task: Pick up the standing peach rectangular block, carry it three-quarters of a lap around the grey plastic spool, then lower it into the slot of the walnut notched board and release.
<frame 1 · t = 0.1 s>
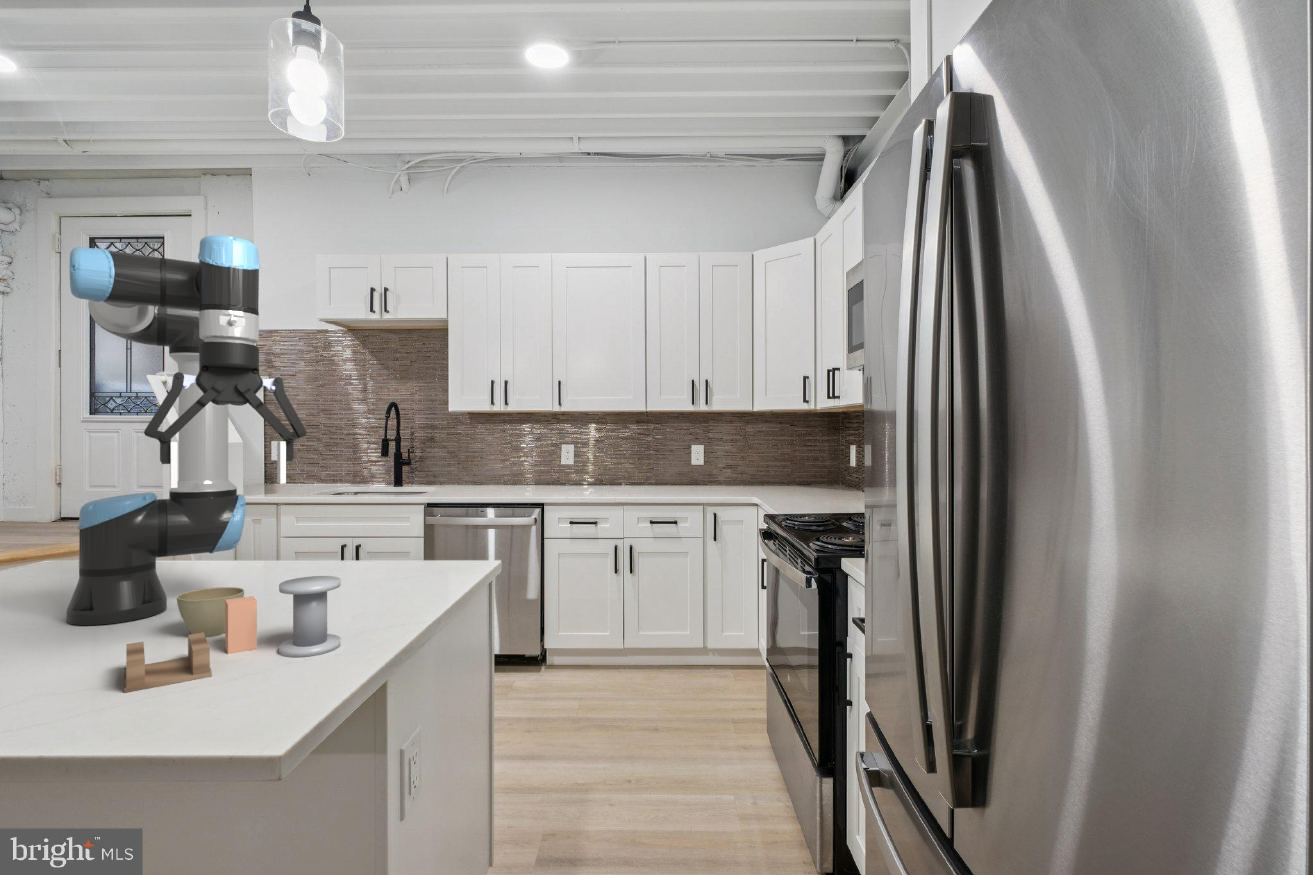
hand: (229, 485, 98), 28 cm above the counter, fingers open, 13 cm apart
bobbin: (310, 647, 109), on the counter
flower pot: (211, 634, 117), on the counter
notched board: (167, 673, 97), on the counter
peach rectangular block: (240, 648, 109), on the counter
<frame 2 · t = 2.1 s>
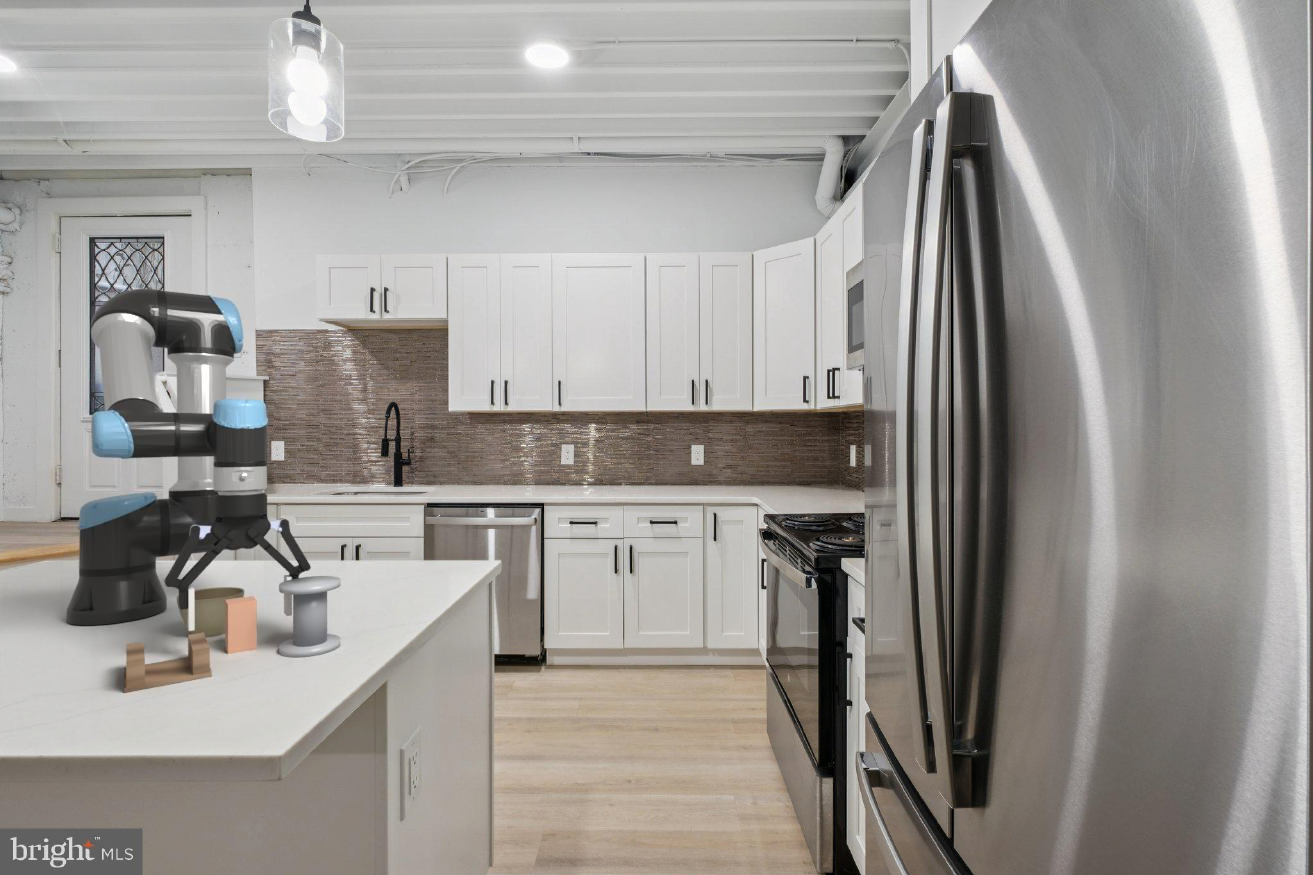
hand: (241, 621, 109), 5 cm above the counter, fingers open, 13 cm apart
nothing on the counter moved.
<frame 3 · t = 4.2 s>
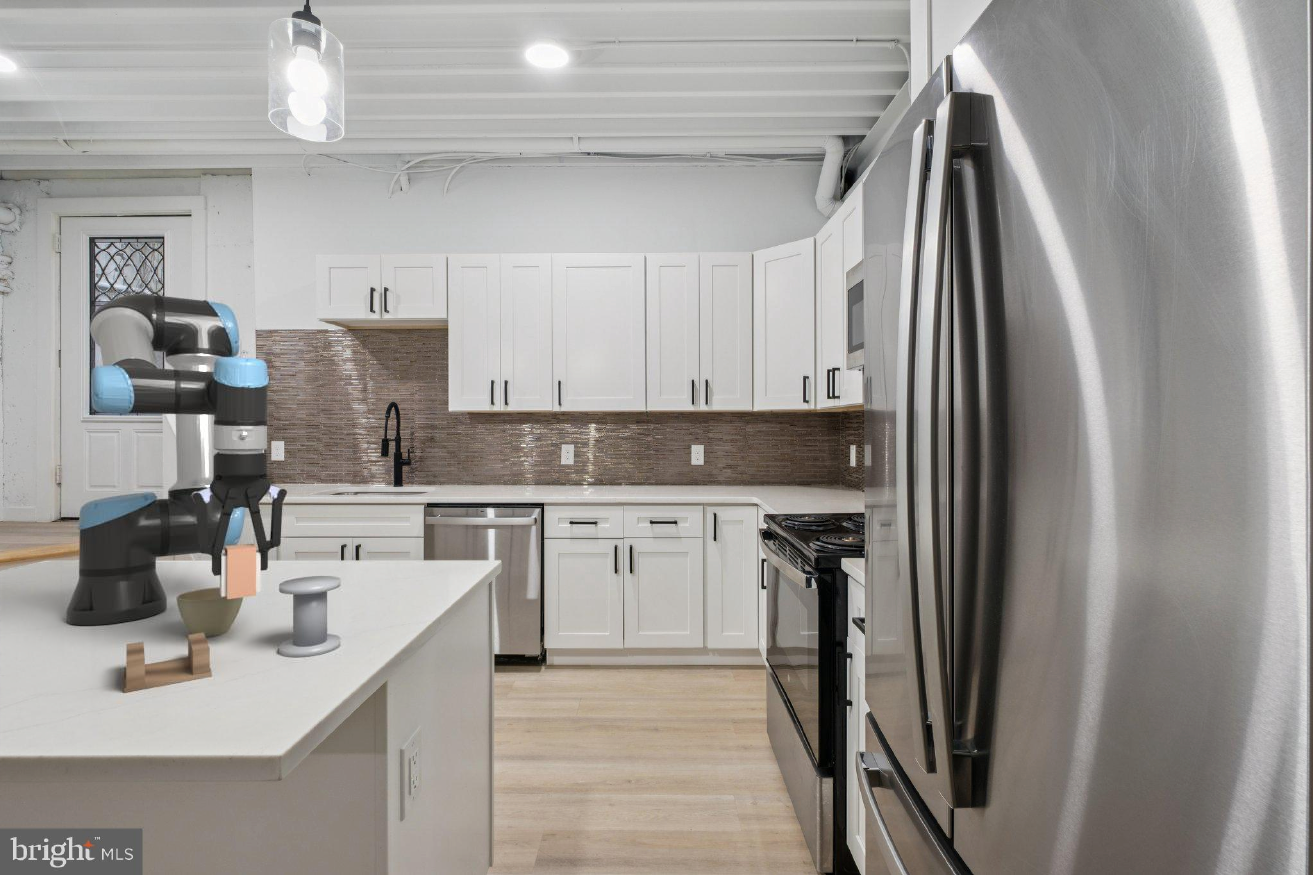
hand: (240, 592, 109), 9 cm above the counter, fingers closed on peach rectangular block, 4 cm apart
peach rectangular block: (240, 594, 109), point 9 cm above the counter, touching gripper
everything else where it was.
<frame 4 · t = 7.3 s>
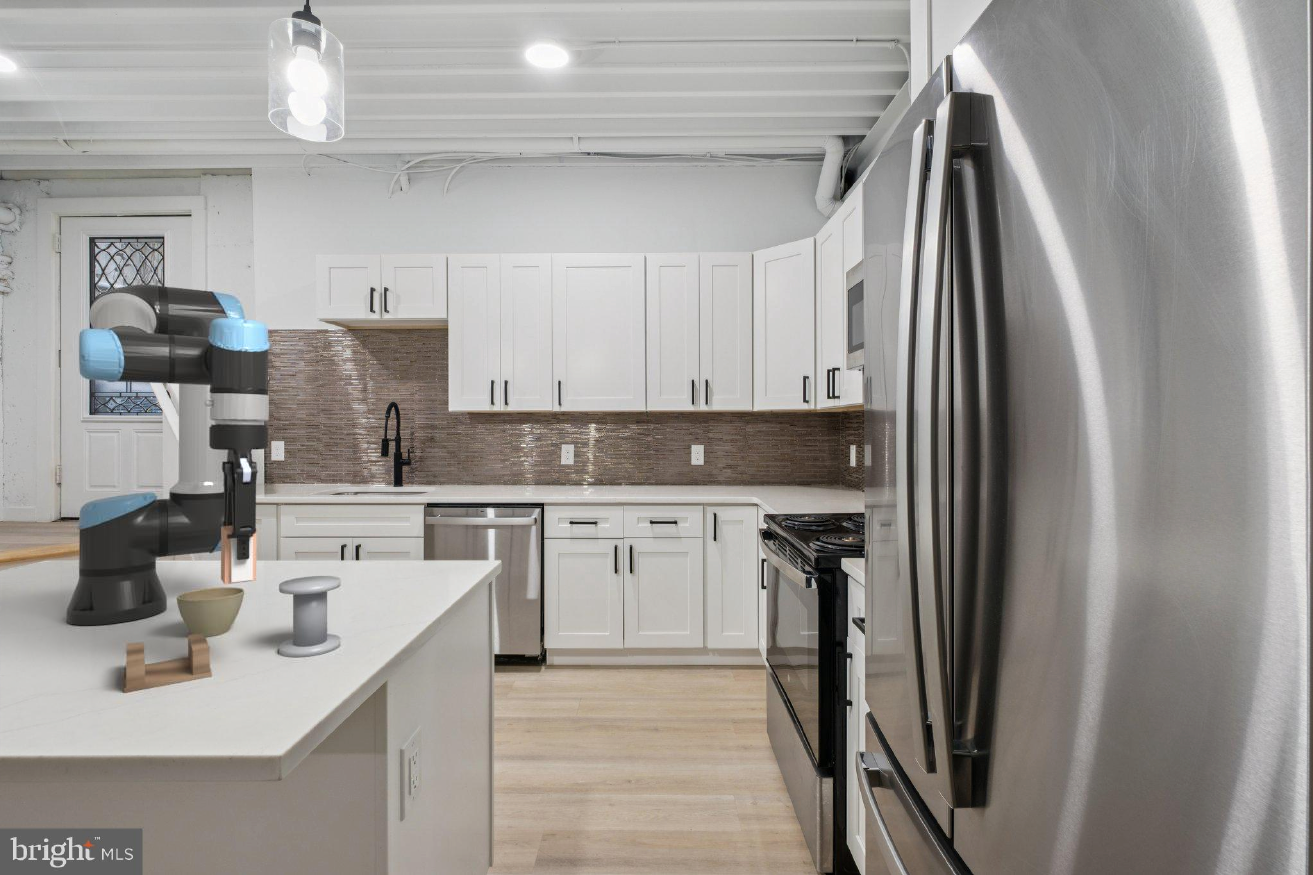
hand: (239, 577, 99), 14 cm above the counter, fingers closed on peach rectangular block, 4 cm apart
peach rectangular block: (238, 579, 99), point 13 cm above the counter, touching gripper
everything else where it was.
when the fingers open (2 cm above the counter, at t = 10.5 s): peach rectangular block stays where it is, resting on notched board.
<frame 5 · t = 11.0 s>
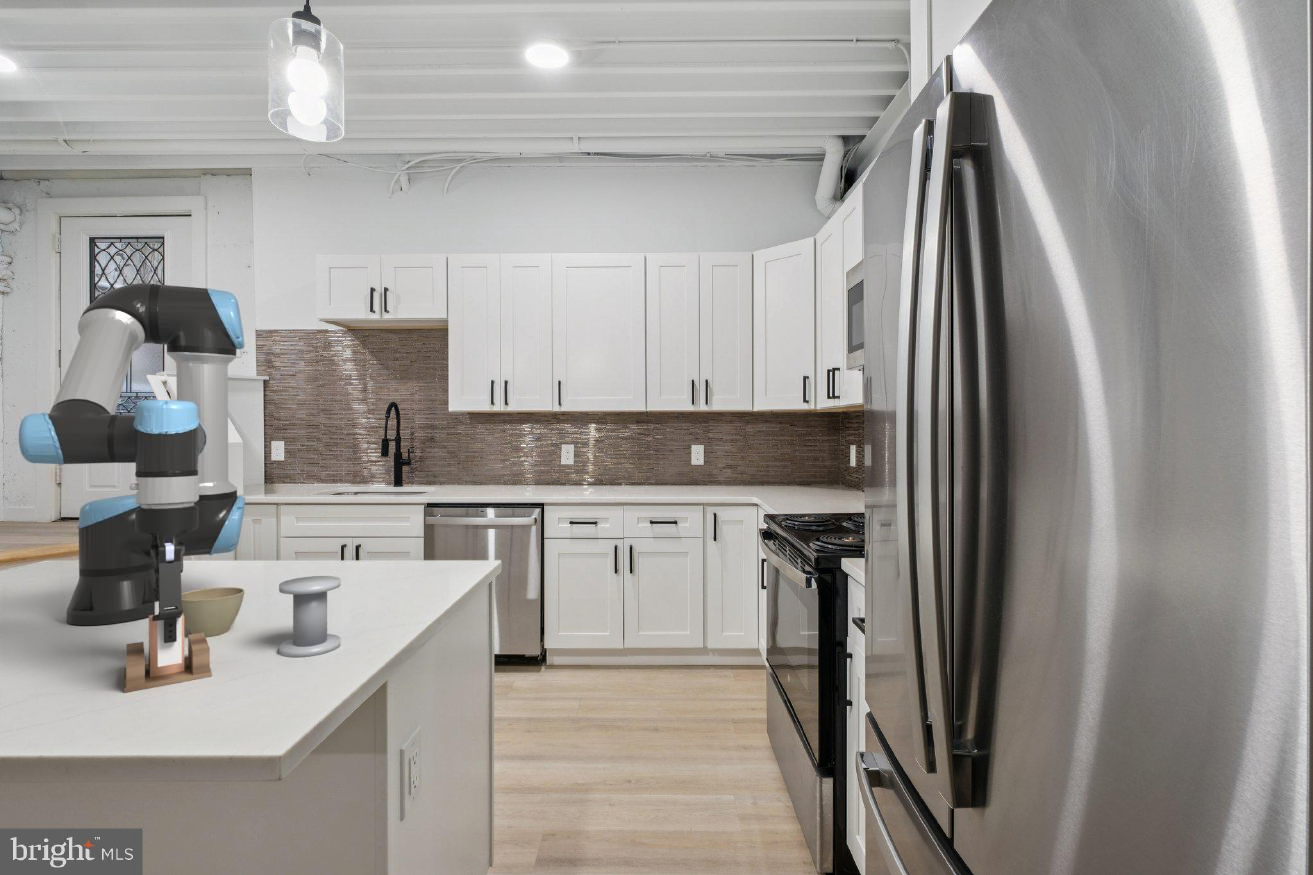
hand: (167, 653, 97), 3 cm above the counter, fingers open, 11 cm apart
peach rectangular block: (166, 670, 97), point 1 cm above the counter, touching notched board
everything else where it was.
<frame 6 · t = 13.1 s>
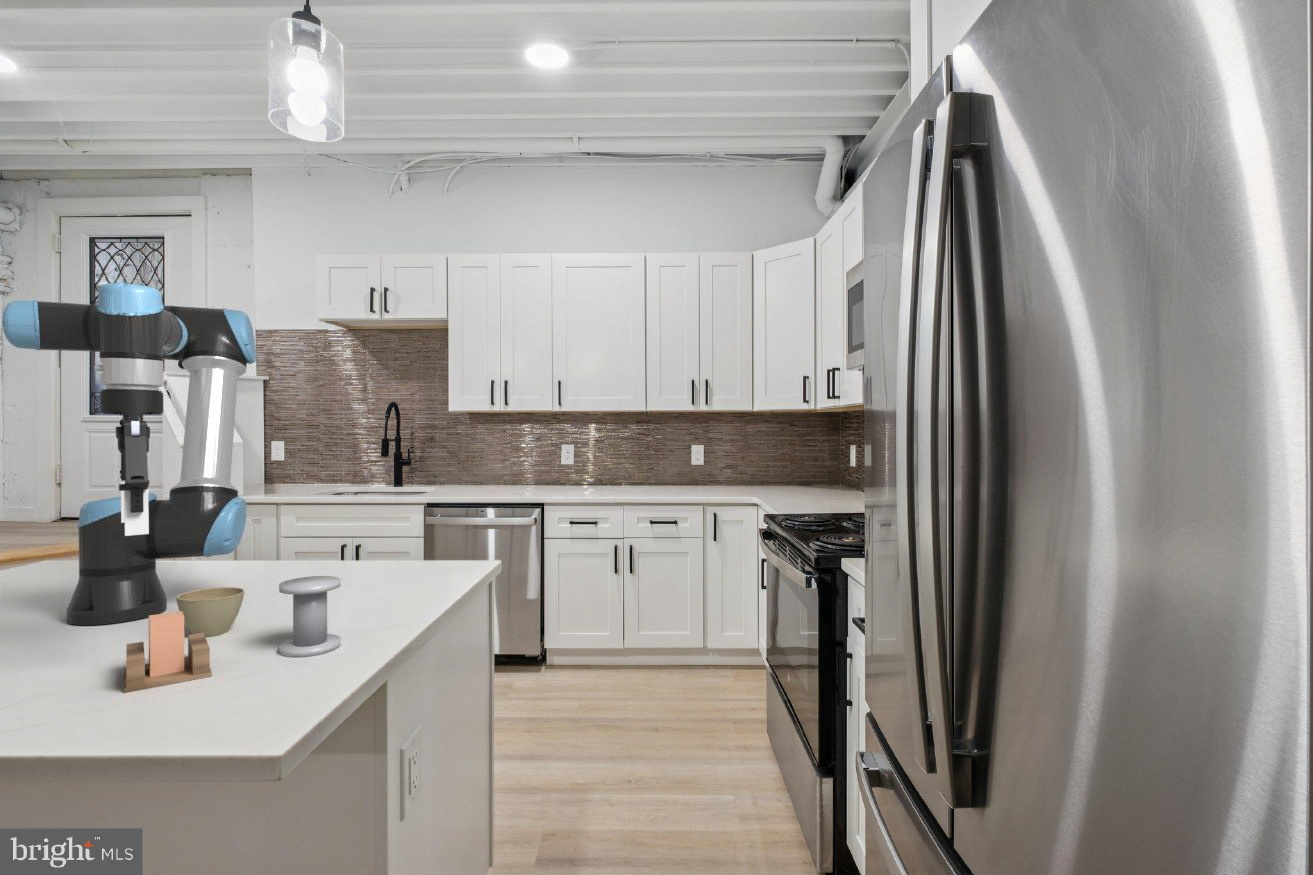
hand: (134, 528, 100), 21 cm above the counter, fingers open, 13 cm apart
nothing on the counter moved.
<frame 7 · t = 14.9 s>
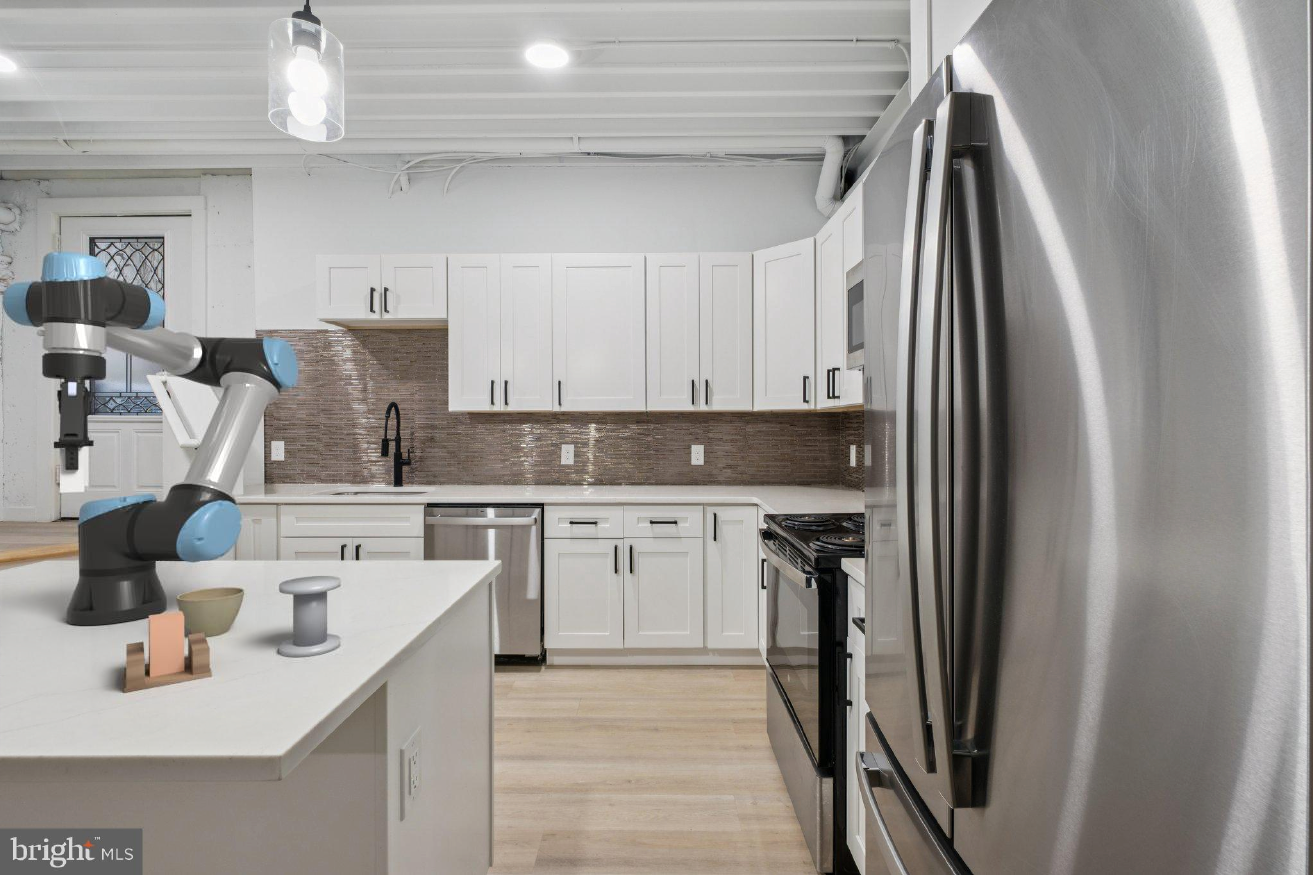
hand: (75, 489, 103), 27 cm above the counter, fingers open, 13 cm apart
nothing on the counter moved.
at the end: peach rectangular block 0.1 cm off-centre on the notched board, point 0.6 cm above the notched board's base; peach rectangular block tilted 0°; the gripper is holding nothing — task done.
